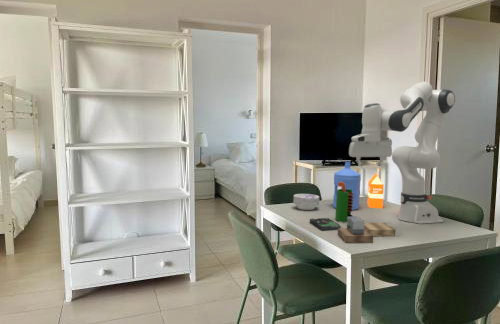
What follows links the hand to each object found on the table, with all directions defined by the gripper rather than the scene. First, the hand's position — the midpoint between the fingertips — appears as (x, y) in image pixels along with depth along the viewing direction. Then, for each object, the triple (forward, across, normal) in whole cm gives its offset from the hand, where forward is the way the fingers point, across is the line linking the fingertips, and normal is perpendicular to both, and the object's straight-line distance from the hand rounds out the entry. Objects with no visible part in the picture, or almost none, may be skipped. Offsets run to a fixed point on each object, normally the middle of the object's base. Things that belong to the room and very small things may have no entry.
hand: (369, 166), depth 183 cm
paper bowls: (+31, +22, -41) cm, 56 cm away
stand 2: (+31, -2, +8) cm, 32 cm away
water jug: (+31, -3, -43) cm, 53 cm away
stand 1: (+30, +12, +17) cm, 37 cm away
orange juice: (+31, -22, -46) cm, 60 cm away
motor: (+31, +7, -15) cm, 35 cm away
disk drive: (+31, +21, -3) cm, 37 cm away
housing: (+27, +12, +17) cm, 34 cm away
